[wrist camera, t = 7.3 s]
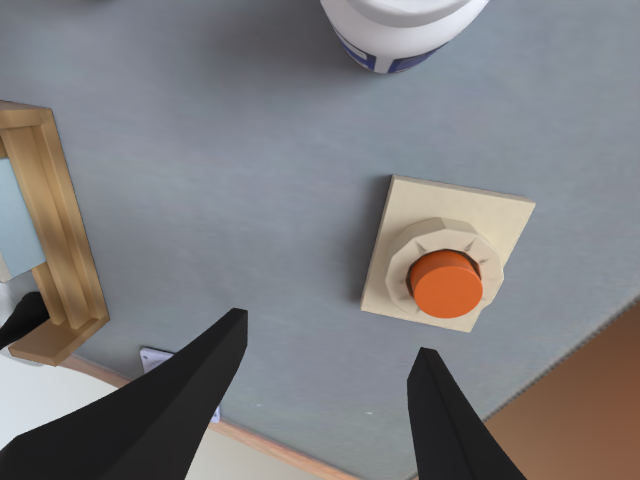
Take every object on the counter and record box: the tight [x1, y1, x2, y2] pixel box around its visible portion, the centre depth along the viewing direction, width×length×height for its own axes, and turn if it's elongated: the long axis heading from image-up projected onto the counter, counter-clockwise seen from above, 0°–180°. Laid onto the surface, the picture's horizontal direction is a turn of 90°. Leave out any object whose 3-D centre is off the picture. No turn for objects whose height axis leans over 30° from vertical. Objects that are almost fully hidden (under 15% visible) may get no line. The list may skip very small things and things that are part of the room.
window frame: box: [0, 100, 110, 367], centre depth 21 cm, size 19×4×6 cm, turn 172°
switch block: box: [360, 175, 536, 333], centre depth 18 cm, size 10×8×3 cm
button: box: [410, 251, 483, 319], centre depth 17 cm, size 4×4×2 cm
